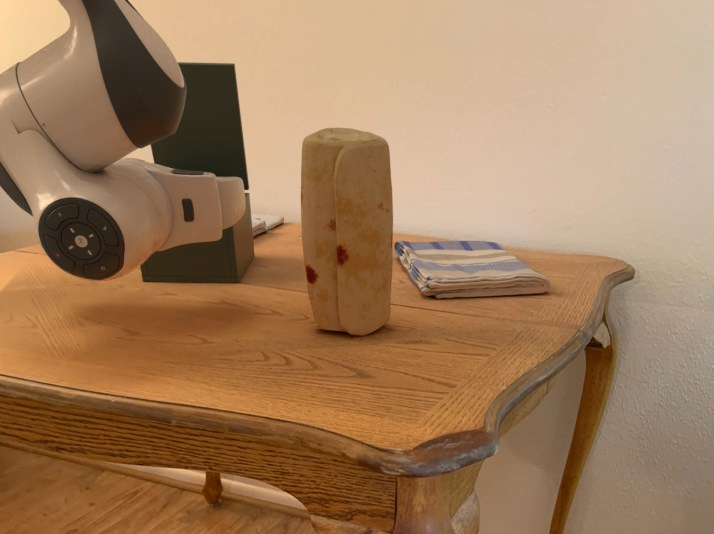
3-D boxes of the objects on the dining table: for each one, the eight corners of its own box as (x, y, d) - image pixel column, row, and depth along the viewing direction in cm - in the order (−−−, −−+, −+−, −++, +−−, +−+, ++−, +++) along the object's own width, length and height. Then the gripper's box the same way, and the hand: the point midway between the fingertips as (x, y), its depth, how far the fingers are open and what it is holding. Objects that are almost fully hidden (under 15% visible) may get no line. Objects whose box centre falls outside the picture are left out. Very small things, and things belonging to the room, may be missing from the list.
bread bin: (238, 283, 102) (231, 212, 97) (142, 281, 101) (130, 210, 96) (254, 256, 114) (249, 192, 109) (169, 255, 113) (160, 191, 109)
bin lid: (233, 65, 97) (239, 54, 101) (134, 62, 97) (143, 52, 101) (248, 190, 108) (253, 177, 112) (159, 188, 108) (166, 175, 112)
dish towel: (422, 300, 96) (423, 278, 95) (390, 256, 116) (390, 236, 114) (553, 296, 99) (556, 274, 98) (500, 253, 118) (502, 234, 117)
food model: (384, 317, 90) (384, 125, 79) (400, 335, 85) (403, 131, 74) (302, 323, 88) (291, 126, 77) (313, 342, 82) (303, 132, 71)
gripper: (38, 238, 80) (82, 213, 91) (235, 241, 80) (254, 215, 92) (22, 171, 76) (71, 154, 88) (228, 175, 77) (249, 157, 88)
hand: (166, 185), depth 90 cm, fingers open, 8 cm apart
